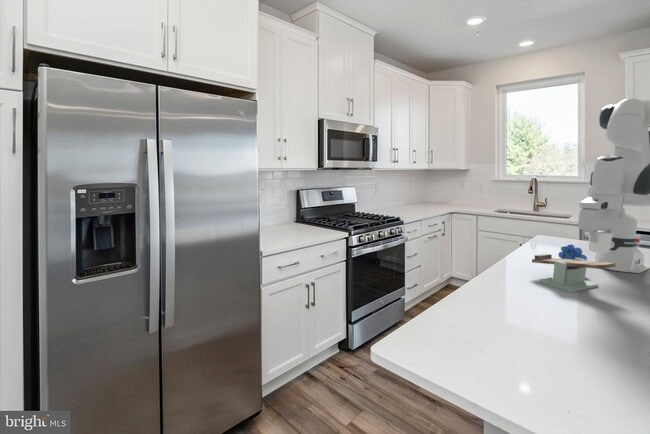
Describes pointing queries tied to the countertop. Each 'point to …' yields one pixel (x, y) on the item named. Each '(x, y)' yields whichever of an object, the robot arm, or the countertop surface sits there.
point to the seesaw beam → (572, 262)
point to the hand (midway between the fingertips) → (599, 241)
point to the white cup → (601, 242)
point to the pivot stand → (569, 277)
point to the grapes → (571, 253)
